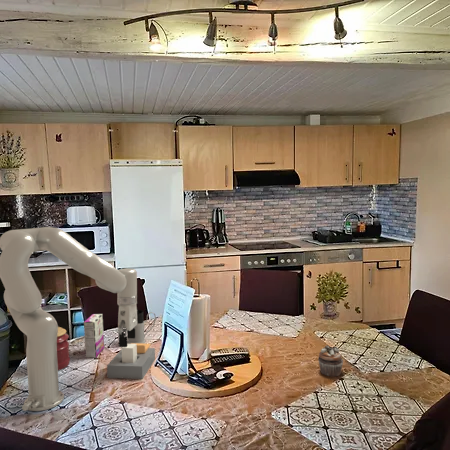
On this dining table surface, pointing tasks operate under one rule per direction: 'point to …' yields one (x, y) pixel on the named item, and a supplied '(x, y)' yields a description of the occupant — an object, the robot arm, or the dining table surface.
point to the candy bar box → (94, 335)
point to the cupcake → (330, 361)
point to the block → (129, 353)
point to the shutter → (142, 347)
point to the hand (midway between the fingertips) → (127, 342)
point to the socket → (131, 365)
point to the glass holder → (140, 329)
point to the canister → (62, 349)
